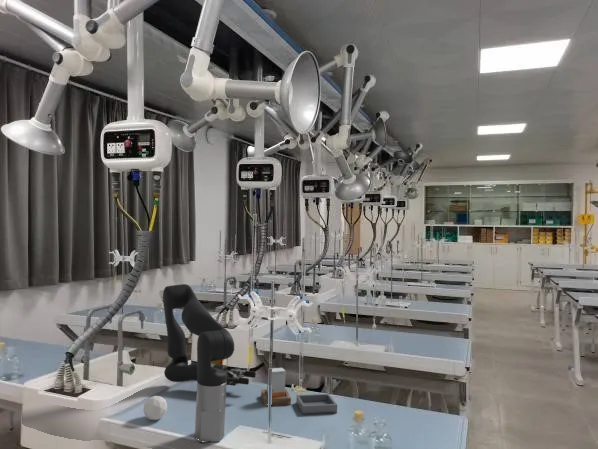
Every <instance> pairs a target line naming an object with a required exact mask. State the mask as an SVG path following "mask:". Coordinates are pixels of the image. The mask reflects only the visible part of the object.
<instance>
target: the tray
mask: <svg viewBox="0 0 598 449" xmlns="http://www.w3.org/2000/svg"><path fill="white" fill-rule="evenodd" d="M295 401H296V402H295V403H296V405H297V407H298V409H299V411H300V412H301V414H302V415H304V416H305V415H323V414H324V415H325V414H338V404H337V402H336V401H335V400H334V398H333V397H332V396H331V395H330V393H319V394H297V395H296V399H295Z"/></svg>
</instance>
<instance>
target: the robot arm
mask: <svg viewBox="0 0 598 449" xmlns="http://www.w3.org/2000/svg"><path fill="white" fill-rule="evenodd" d="M162 304H163V312H164V319H165V325H166V326H165V327H166V333H167V334H166V336H167V355H168V357H169V358H172V361H171V362H170V363H169V364H168V365H167V366H166V367H165V369H164V372H163V374H164V377H165V378H166V379H167V380H168V381H170V382H174V383H175V382H176V383H179V382H190V381H195V382H196V400H195V401H196V403H195V419H194V420H195V422H194V423H195V426H194V439H196V438H197V439H199V440H200V441H199V440H198V441H199V443H200V442H202V441H211V442H210V443H217V442H218V443H219V442H220V441H221V440H222V439H223V438H224V437H225V428H226V427H225V423H226V403H227V402H226V400H227V386H233V387H235V386H236V385H247V386H248V385H249V383H250V379H249V378H253V379H254V378H256V377H257V376H256V374H257V372H256V371H250V370H248V368H246V367H244V368H243V367H234V366H233V368H231V369H228V365H227V366H226V365H220V364H211V361H216V360H224V359H227V358H228V359H229V358H231V357H232V355H233V354H234V353H235V352H234V351H235V341H234V338H233V337H232V335H231V333H230V332H229V331H228V330H227V329H226V328H225V327H224V326H222V324H220V323H219V322H218V321H217V320H216V319H215V318H214V317H213V316H212V315H211V314H210V312H209V311H208V310H207V309H206V307H205V306H204V305H203V304H202V303H201V301H200V300H199V299H198V297H197V296H196V294H195V292H194V290H193V289H192V287H191V286H190V285H189V284H186V283H185V284H184V283H182V284H173V285H167V286H165V287H164V288H163V291H162ZM182 308H183V309H182ZM174 309H175V310H176V309H182V312H181V321H182V323H183V325H184V327H186V329H187V330H188V332H190V333H192V334H193V335H195V336H198V337H197V342H196V359H197V360H196V361H197V362H193V363H190V364H189V361H188V357H187V352H186V335H185V331H184V330H183V328H182V327H181V325H180V324H179V322H178V321H177V319H176V317H175V315H174ZM197 439H196V440H197ZM202 443H203V442H202Z"/></svg>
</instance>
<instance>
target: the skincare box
mask: <svg viewBox="0 0 598 449" xmlns="http://www.w3.org/2000/svg"><path fill="white" fill-rule="evenodd" d="M269 369H270V368H268V369H267V389H266V390H267V397H268V385H269ZM271 369H272V397H283V396H284V395H285V389H286V377H287V370H285V369H284V368H283V367H273V368H271Z"/></svg>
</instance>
